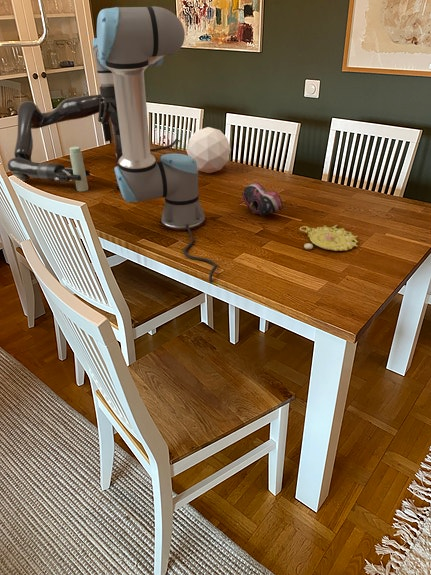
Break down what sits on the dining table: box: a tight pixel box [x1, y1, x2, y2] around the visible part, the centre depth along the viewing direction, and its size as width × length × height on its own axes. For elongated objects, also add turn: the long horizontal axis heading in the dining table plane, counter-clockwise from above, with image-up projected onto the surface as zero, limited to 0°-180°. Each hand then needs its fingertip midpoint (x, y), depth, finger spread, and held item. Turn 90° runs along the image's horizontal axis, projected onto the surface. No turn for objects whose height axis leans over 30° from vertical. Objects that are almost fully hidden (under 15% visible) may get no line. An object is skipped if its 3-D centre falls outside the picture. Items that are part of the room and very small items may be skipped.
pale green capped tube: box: [68, 146, 89, 193], centre depth 182 cm, size 5×5×17 cm
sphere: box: [186, 126, 232, 174], centre depth 198 cm, size 19×20×20 cm
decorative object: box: [299, 224, 359, 252], centre depth 141 cm, size 21×2×20 cm
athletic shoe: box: [238, 182, 284, 217], centre depth 160 cm, size 11×22×12 cm
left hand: (84, 175), depth 183 cm, fingers open, 6 cm apart
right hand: (118, 143), depth 176 cm, fingers open, 13 cm apart
